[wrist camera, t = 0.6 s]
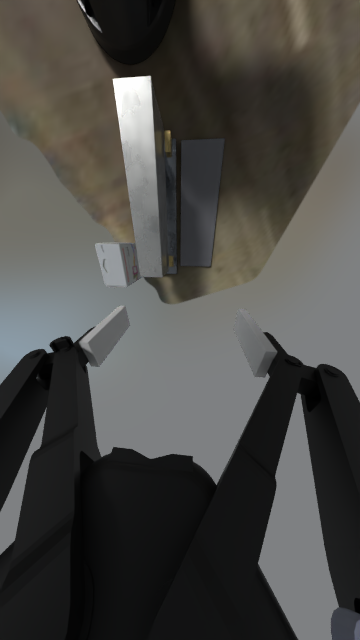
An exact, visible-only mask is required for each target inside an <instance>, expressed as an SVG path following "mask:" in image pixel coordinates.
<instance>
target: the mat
mask: <svg viewBox="0 0 360 640" xmlns="http://www.w3.org/2000/svg"><path fill="white" fill-rule="evenodd" d="M224 142H225V138H220V139H199V140H181V262H180V266H211V258H212V249H213V240H214V231H215V222H216V213H217V204H218V195H219V186H220V177H221V168H222V159H223V151H224Z"/></svg>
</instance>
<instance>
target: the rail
mask: <svg viewBox="0 0 360 640" xmlns="http://www.w3.org/2000/svg"><path fill="white" fill-rule="evenodd" d="M113 83H114V90H115V97H116V104H117V112H118V119H119V126H120V133H121V141H122V148H123V155H124V162H125V170H126V177H127V184H128V191H129V199H130V206H131V213H132V220H133V228H134V235H135V242H136V249H137V257H138V264H139V271H140V277H163V276H164V275H165V274H166V273H167V272H168V271H169V265H168V236H167V207H166V177H165V148H164V127H163V123H162V119H161V115H160V111H159V107H158V103H157V99H156V95H155V91H154V87H153V83H152V79H151V76H143V77H131V78H119V79H113Z"/></svg>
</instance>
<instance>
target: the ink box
mask: <svg viewBox="0 0 360 640" xmlns="http://www.w3.org/2000/svg"><path fill="white" fill-rule="evenodd" d="M95 248H96V251H97V255H98V259H99V263H100V267H101V271H102V274H103V278H104V283H105V284H106V285H107V287H108V288H122V287H128V286H129V285H131V284H132V283H134V282H135V281H137V280H138V279H140V278H141V277H140V271H139V264H138V257H137V249H136V243H96V244H95Z"/></svg>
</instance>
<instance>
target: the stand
mask: <svg viewBox="0 0 360 640" xmlns="http://www.w3.org/2000/svg"><path fill="white" fill-rule="evenodd" d="M164 148H165V177H166V207H167V236H168V265H169V271H168V272H167V273H166V274H177V170H176V139H172V137H171V132H170V130H169V131H165V139H164Z"/></svg>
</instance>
